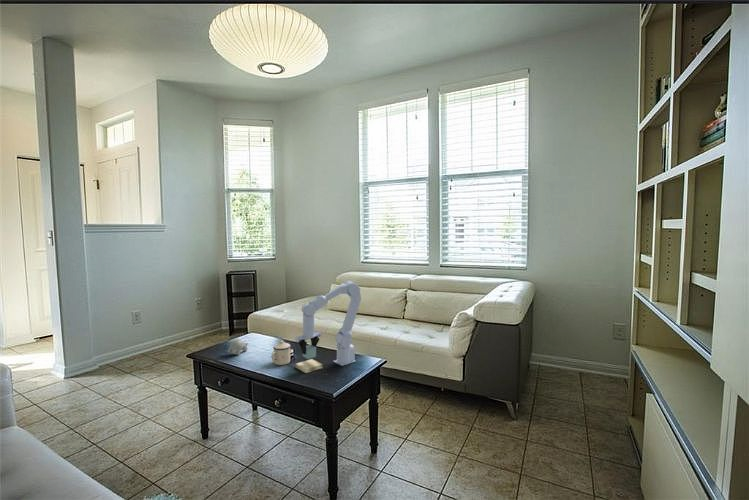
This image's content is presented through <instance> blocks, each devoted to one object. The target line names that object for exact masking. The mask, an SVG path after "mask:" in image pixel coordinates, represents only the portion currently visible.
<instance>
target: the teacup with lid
mask: <svg viewBox="0 0 749 500" xmlns="http://www.w3.org/2000/svg"><path fill="white" fill-rule="evenodd" d="M284 341H285V340H280V341H279V342H278V343H276V344H274V346H273V347H272V348H273V352H272V353H271V360H272V361H273V363H274V364H275V365H277V366H283V365H287V364H290V362H291V348H292V347H291V344H290V343H287V342H284Z"/></svg>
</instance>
